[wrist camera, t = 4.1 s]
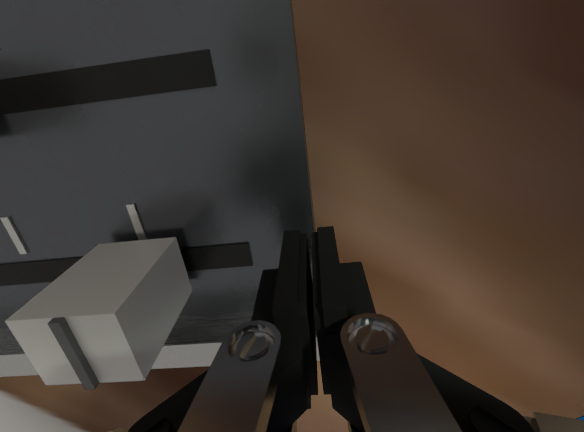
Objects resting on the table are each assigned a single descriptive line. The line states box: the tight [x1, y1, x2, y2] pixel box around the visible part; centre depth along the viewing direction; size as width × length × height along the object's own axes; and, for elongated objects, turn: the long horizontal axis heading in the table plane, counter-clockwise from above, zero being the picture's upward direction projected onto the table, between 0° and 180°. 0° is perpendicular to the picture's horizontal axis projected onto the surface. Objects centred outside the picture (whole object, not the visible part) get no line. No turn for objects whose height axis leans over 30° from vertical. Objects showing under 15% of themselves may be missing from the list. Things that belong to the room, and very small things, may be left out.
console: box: [0, 0, 320, 377], centre depth 12 cm, size 22×14×4 cm, turn 97°
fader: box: [5, 237, 192, 390], centre depth 10 cm, size 3×2×4 cm
